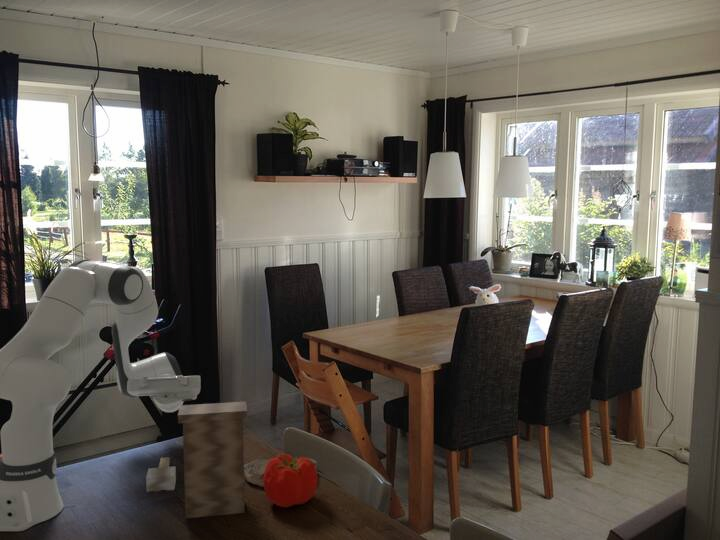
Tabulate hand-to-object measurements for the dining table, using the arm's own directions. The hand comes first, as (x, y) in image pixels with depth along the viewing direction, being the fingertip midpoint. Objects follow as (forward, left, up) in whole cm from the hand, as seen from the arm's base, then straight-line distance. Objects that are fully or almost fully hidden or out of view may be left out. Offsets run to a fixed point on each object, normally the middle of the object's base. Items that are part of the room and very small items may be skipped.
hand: (162, 379), depth 182 cm
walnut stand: (+14, -26, -26) cm, 40 cm away
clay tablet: (+31, -11, -27) cm, 42 cm away
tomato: (+33, -26, -26) cm, 50 cm away
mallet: (0, -5, -26) cm, 27 cm away
